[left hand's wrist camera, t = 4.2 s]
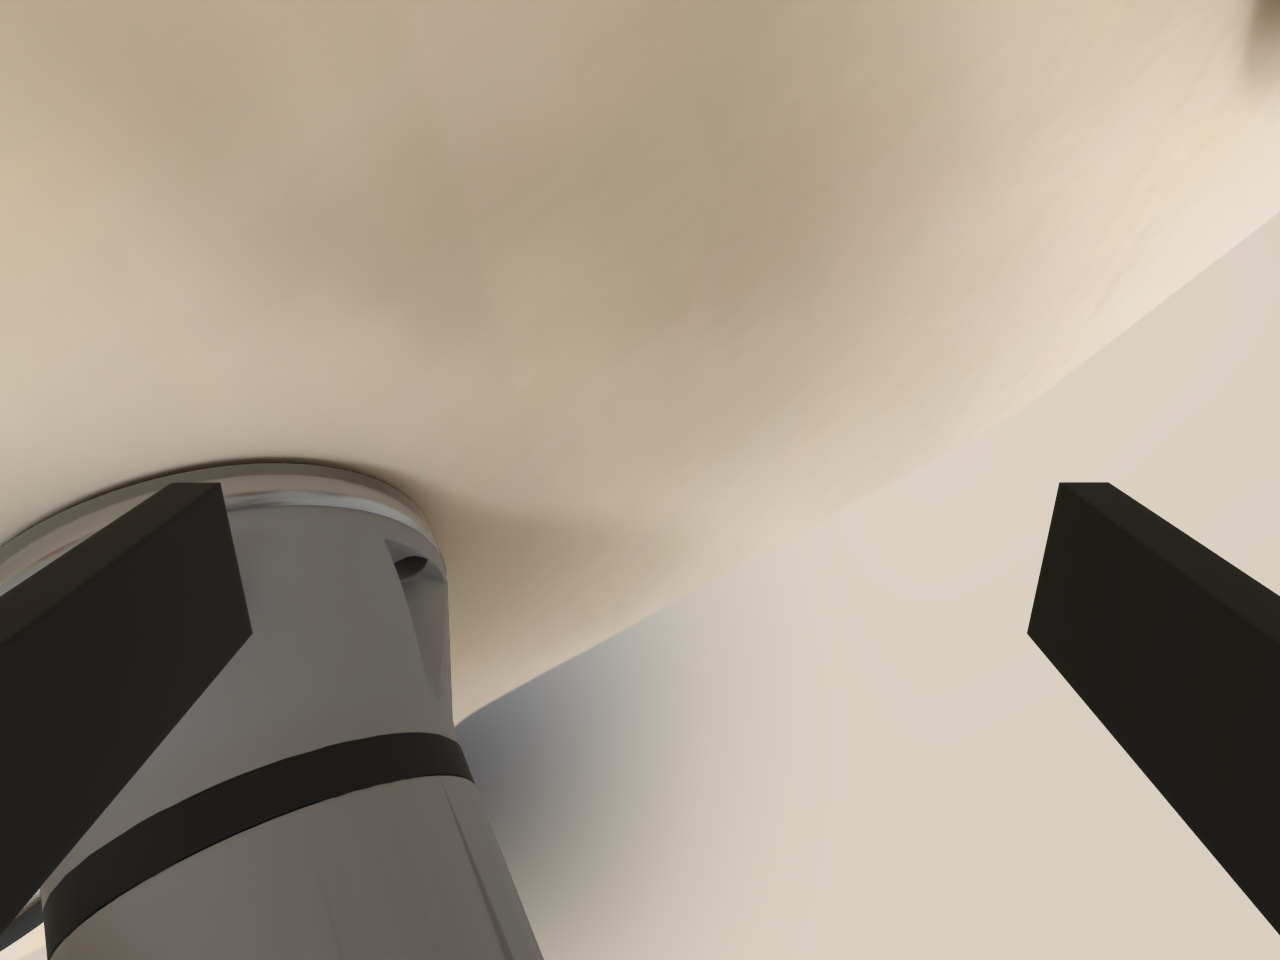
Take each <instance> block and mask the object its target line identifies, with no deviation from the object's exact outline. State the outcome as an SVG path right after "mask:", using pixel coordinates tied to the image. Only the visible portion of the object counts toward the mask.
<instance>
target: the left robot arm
mask: <svg viewBox="0 0 1280 960" xmlns="http://www.w3.org/2000/svg"><path fill="white" fill-rule="evenodd" d="M1027 634H1028V635H1029V636H1030V638H1031V639H1032V640H1033V641H1034V642H1035V643H1036V645H1037V646H1038V647H1039V648H1040V649H1041V651H1042V652H1043V653H1044V654H1045V655H1046V657H1047V658H1048V659H1049V660H1050V661H1051V663H1052V664H1053V665H1054V666H1055V667H1056V669H1057V670H1058V671H1059V672H1060V673H1061V675H1062V676H1063V677H1064V678H1065V679H1066V680H1067V682H1068V683H1069V684H1070V685H1071V686H1072V688H1073V689H1074V690H1075V691H1076V692H1077V694H1078V695H1079V696H1080V697H1081V698H1082V700H1083V701H1084V702H1085V703H1086V704H1087V706H1088V707H1089V708H1090V709H1091V710H1092V712H1093V713H1094V714H1095V715H1096V716H1097V717H1098V719H1099V720H1100V721H1101V722H1102V723H1103V725H1104V726H1105V727H1106V728H1107V729H1108V731H1109V732H1110V733H1111V734H1112V735H1113V737H1114V738H1115V739H1116V740H1117V741H1118V743H1119V744H1120V745H1121V746H1122V747H1123V749H1124V750H1125V751H1126V752H1127V753H1128V754H1129V756H1130V757H1131V758H1132V759H1133V760H1134V762H1135V763H1136V764H1137V765H1138V766H1139V768H1140V769H1141V770H1142V771H1143V772H1144V774H1145V775H1146V776H1147V777H1148V778H1149V780H1150V781H1151V782H1152V783H1153V784H1154V785H1155V787H1156V788H1157V789H1158V790H1159V791H1160V793H1161V794H1162V795H1163V796H1164V797H1165V799H1166V800H1167V801H1168V802H1169V803H1170V805H1171V806H1172V807H1173V808H1174V809H1175V811H1176V812H1177V813H1178V814H1179V815H1180V817H1181V818H1182V819H1183V820H1184V821H1185V823H1186V824H1187V825H1188V826H1189V827H1190V829H1191V830H1192V831H1193V832H1194V833H1195V835H1196V836H1197V837H1198V838H1199V839H1200V840H1201V842H1202V843H1203V844H1204V845H1205V846H1206V848H1207V849H1208V850H1209V851H1210V852H1211V854H1212V855H1213V856H1214V857H1215V858H1216V860H1217V861H1218V862H1219V863H1220V864H1221V865H1222V867H1223V868H1224V869H1225V870H1226V872H1227V873H1228V874H1229V875H1230V876H1231V877H1232V879H1233V880H1234V881H1235V882H1236V883H1237V885H1238V886H1239V887H1240V888H1241V889H1242V891H1243V892H1244V893H1245V894H1246V895H1247V896H1248V898H1249V899H1250V900H1251V901H1252V902H1253V904H1254V905H1255V906H1256V907H1257V909H1258V910H1259V911H1260V912H1261V913H1262V914H1263V916H1264V917H1265V918H1266V919H1267V920H1268V922H1269V923H1270V924H1271V925H1272V926H1273V928H1274V929H1275V930H1276V931H1277V932H1278V934H1279V935H1280V596H1279V595H1277V594H1276V593H1274V592H1273V591H1271V590H1269V589H1268V588H1267V587H1265V586H1263V585H1262V584H1260V583H1259V582H1257V581H1256V580H1254V579H1253V578H1251V577H1250V576H1248V575H1247V574H1245V573H1244V572H1242V571H1241V570H1239V569H1238V568H1236V567H1235V566H1233V565H1232V564H1230V563H1229V562H1227V561H1226V560H1224V559H1223V558H1221V557H1220V556H1218V555H1217V554H1215V553H1214V552H1212V551H1211V550H1209V549H1208V548H1206V547H1205V546H1203V545H1202V544H1200V543H1199V542H1197V541H1196V540H1194V539H1193V538H1191V537H1190V536H1188V535H1187V534H1185V533H1184V532H1182V531H1181V530H1179V529H1178V528H1176V527H1175V526H1173V525H1172V524H1170V523H1169V522H1167V521H1166V520H1164V519H1163V518H1161V517H1160V516H1158V515H1157V514H1155V513H1154V512H1152V511H1151V510H1149V509H1148V508H1146V507H1145V506H1143V505H1142V504H1140V503H1139V502H1137V501H1136V500H1134V499H1132V498H1131V497H1130V496H1128V495H1127V494H1125V493H1123V492H1122V491H1120V490H1119V489H1117V488H1116V487H1114V486H1113V485H1111V484H1110V483H1059V487H1058V492H1057V497H1056V501H1055V506H1054V511H1053V515H1052V520H1051V525H1050V529H1049V534H1048V539H1047V543H1046V548H1045V553H1044V557H1043V562H1042V567H1041V571H1040V576H1039V580H1038V585H1037V590H1036V594H1035V599H1034V604H1033V608H1032V613H1031V618H1030V622H1029V627H1028V632H1027ZM39 888H40V892H41V900H39V901H38V902H37V903H36V904H34V905H33V906H32V907H31V908H29V909H28V910H27V911H25V912H24V913H23V914H21V915H20V916H19V917H17V918H16V919H14V918H15V917H16V916H17V914H18V913H19V912H20V911H21V910H22V909H23V907H24V906H25V905H26V904H27V903H28V901H29V900H30V899H31V898H32V897H33V895H34V894H35V893H36V892H37V891H38V889H39ZM13 919H14V920H13ZM12 920H13V921H12ZM43 922H44V928H45V938H46V949H47V959H48V960H544V959H543V956H542V954H541V951H540V949H539V946H538V944H537V941H536V939H535V936H534V933H533V931H532V928H531V926H530V923H529V921H528V918H527V916H526V913H525V911H524V908H523V905H522V903H521V900H520V898H519V895H518V893H517V890H516V888H515V885H514V882H513V880H512V877H511V875H510V872H509V870H508V867H507V864H506V862H505V859H504V857H503V854H502V852H501V849H500V847H499V844H498V841H497V839H496V836H495V834H494V831H493V829H492V826H491V824H490V821H489V818H488V816H487V813H486V811H485V808H484V806H483V803H482V801H481V798H480V795H479V793H478V790H477V788H476V785H475V783H474V781H473V778H472V775H471V773H470V770H469V767H468V765H467V762H466V759H465V757H464V754H463V752H462V749H461V746H460V743H459V741H458V738H457V735H456V732H455V729H454V724H453V717H452V691H451V666H450V640H449V614H448V589H447V579H446V568H445V563H444V560H443V557H442V555H441V552H440V550H439V548H438V545H437V543H436V541H435V538H434V536H433V534H432V531H431V529H430V527H429V525H428V522H427V520H426V518H425V516H424V515H423V513H422V512H421V511H420V509H419V508H418V507H417V506H416V505H415V504H414V503H413V502H412V501H411V500H410V499H409V498H408V497H407V496H405V495H404V494H403V493H401V492H400V491H398V490H397V489H395V488H393V487H391V486H389V485H388V484H386V483H383V482H381V481H379V480H376V479H374V478H371V477H368V476H365V475H362V474H359V473H355V472H352V471H347V470H342V469H338V468H333V467H325V466H318V465H309V464H292V463H257V464H242V465H230V466H222V467H214V468H206V469H200V470H195V471H189V472H184V473H178V474H173V475H169V476H165V477H161V478H157V479H153V480H148V481H144V482H141V483H138V484H134V485H131V486H128V487H125V488H121V489H118V490H115V491H112V492H109V493H107V494H104V495H101V496H98V497H96V498H93V499H90V500H88V501H85V502H83V503H81V504H78V505H76V506H74V507H72V508H69V509H67V510H65V511H62V512H60V513H58V514H56V515H54V516H52V517H50V518H49V519H47V520H45V521H43V522H41V523H39V524H37V525H35V526H33V527H32V528H30V529H28V530H27V531H25V532H24V533H22V534H20V535H19V536H17V537H15V538H14V539H12V540H11V541H9V542H8V543H7V544H5V545H4V546H2V547H1V548H0V951H2V950H3V949H5V948H6V947H8V946H9V945H11V944H12V943H14V942H15V941H17V940H18V939H20V938H21V937H23V936H24V935H26V934H27V933H29V932H30V931H32V930H33V929H34V928H36V927H37V926H39V925H40V924H41V923H43Z"/></svg>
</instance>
